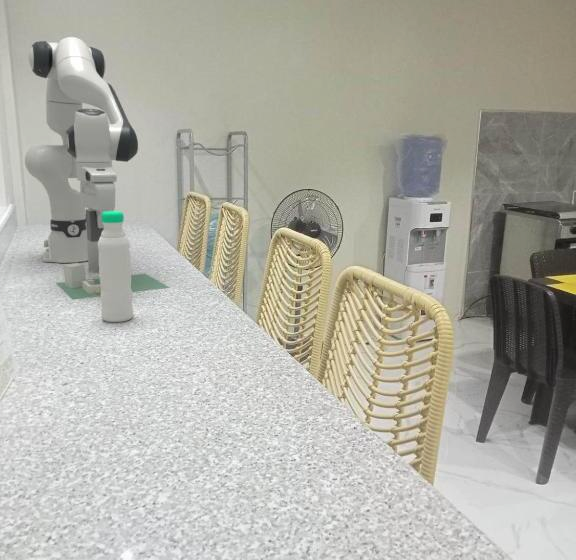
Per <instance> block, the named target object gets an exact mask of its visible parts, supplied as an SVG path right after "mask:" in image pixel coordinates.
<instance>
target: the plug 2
mask: <svg viewBox="0 0 576 560" xmlns="http://www.w3.org/2000/svg"><path fill="white" fill-rule="evenodd" d="M85 215H86V224H87V239H88V240H89V241H91V242H96V241H99V238H100V237H101V233H102V231H103V229H104V228H98V227H97V223H96V221H97V214H96V211H95V210H92V209H89V208H85Z"/></svg>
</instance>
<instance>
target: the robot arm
mask: <svg viewBox="0 0 576 560" xmlns="http://www.w3.org/2000/svg"><path fill="white" fill-rule="evenodd" d="M28 52H29V53H28V61H29V66H30V67H31V70H32V73H33V74H34V75H36V76H37V77H40V78H42V79H47V82H46V90H45V92H46V95H45V100H46V101H45V102H46V103H45V105H46V107H45V109H46V110H45V111H46V115H45V117H46V125H48V127H49V129H50V130H51V131H53V132H54V133H56V134H58V135H59V136H60V137H61V140H62V145H61V144H43V145H38V146H33V147H29V148H28V150H27V152H26V154H25V156H24V164H25V168H26V171H27V172H28V173H29V174H30V175H31V176H32V177H34V179H36V180H37V181H38V182H40V184H41V185H42V187H44V189H45V191H46V193H47V196H48V201H49V206H50V214H51V219H50V224H49V226H50V230H51V231H50V233H49V235H48V237H47V239H45V240H44V241H43V248H46V249H45V251H43V253H42V262H46V263H59V264H63V263H64V264H72V263H80V262H88V250H87V234H86V209H92V210H95V211H96V214H97V221H96V223H97V227H98V228H104V225H103V224H102V223H103V222H102V220H101V214H102V213H103V212H106V211H115V209H116V185H115V183H116V182H117V181H118V180H117V173H116V172H115V171H114V169H113V161H116V162H126V163H127V162H129V161H130V160H132V159H133V158H134V157H135V156H136V155H137V154H138V151H139V141H138V137H137V134H136V131H135V129H134V128H133V126H132V125H131V124H130V121H129V120H128V117H127V115H126V112H125V111H124V108H123V106H122V103H121V102H120V101H121V100H120V99H119V97H118V95H117V93H116V91H115V89H114V87H113V86H112V84H111V83H108V81H106V80H105V79H104V75H105V72H106V70H107V69H106V68H107V66H106V65H107V64H106V61H105V56H104V54H103V52H102V51H101V49H98V48H95V47H92V46H88V44H87V43H85V42H84V41H83V40H82V39H80V38H78V37H75V36H67V37H64V38H62V39H61V40H59V42H50V41H49V42H47V41H46V40H41V41H35V42H34V43H33V44H32V45H31V47H30V50H29V51H28ZM83 104H87V105H90V106H92V107H95V109H94V108H83ZM96 108H98V109H96ZM109 122H110V123H109ZM69 179H77V181H80V182H79V191H78V190H76V189H74V188H72V187H71V185H70V183H69Z"/></svg>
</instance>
